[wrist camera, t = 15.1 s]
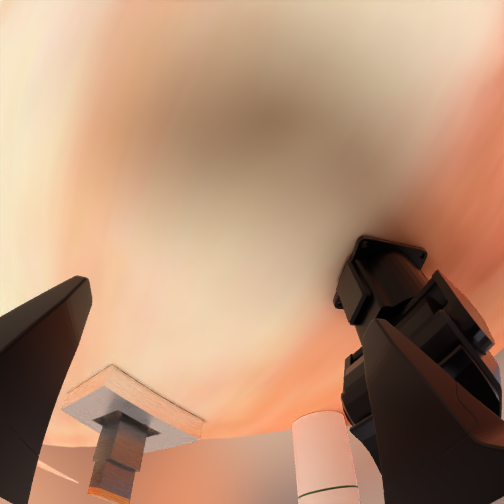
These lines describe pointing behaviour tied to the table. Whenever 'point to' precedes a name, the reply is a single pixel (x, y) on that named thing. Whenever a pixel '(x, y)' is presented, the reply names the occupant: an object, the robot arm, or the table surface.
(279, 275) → the table surface
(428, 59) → the table surface
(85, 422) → the silver square socket base
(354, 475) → the cylindrical container
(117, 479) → the grey orange-tipped tall block
